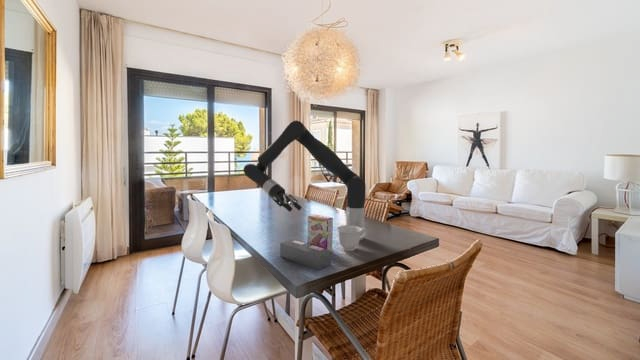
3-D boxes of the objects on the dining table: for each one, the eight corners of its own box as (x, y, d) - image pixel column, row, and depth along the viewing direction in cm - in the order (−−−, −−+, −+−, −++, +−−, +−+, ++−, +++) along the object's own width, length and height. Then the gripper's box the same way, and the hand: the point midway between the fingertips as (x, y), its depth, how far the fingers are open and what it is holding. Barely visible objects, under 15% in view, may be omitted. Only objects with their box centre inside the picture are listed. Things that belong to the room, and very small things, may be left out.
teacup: (371, 252, 130) (372, 230, 129) (341, 254, 125) (342, 233, 124) (360, 243, 141) (361, 224, 140) (332, 245, 137) (333, 226, 136)
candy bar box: (306, 250, 131) (307, 215, 129) (312, 247, 135) (313, 213, 133) (327, 255, 125) (327, 219, 123) (332, 251, 129) (333, 217, 127)
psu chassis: (291, 251, 128) (291, 238, 128) (330, 264, 115) (330, 249, 114) (280, 256, 123) (280, 242, 122) (319, 270, 109) (319, 254, 109)
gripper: (268, 183, 134) (292, 204, 128) (285, 183, 146) (307, 202, 140) (261, 196, 135) (283, 217, 129) (278, 195, 148) (299, 214, 142)
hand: (296, 209), depth 135 cm, fingers open, 8 cm apart
